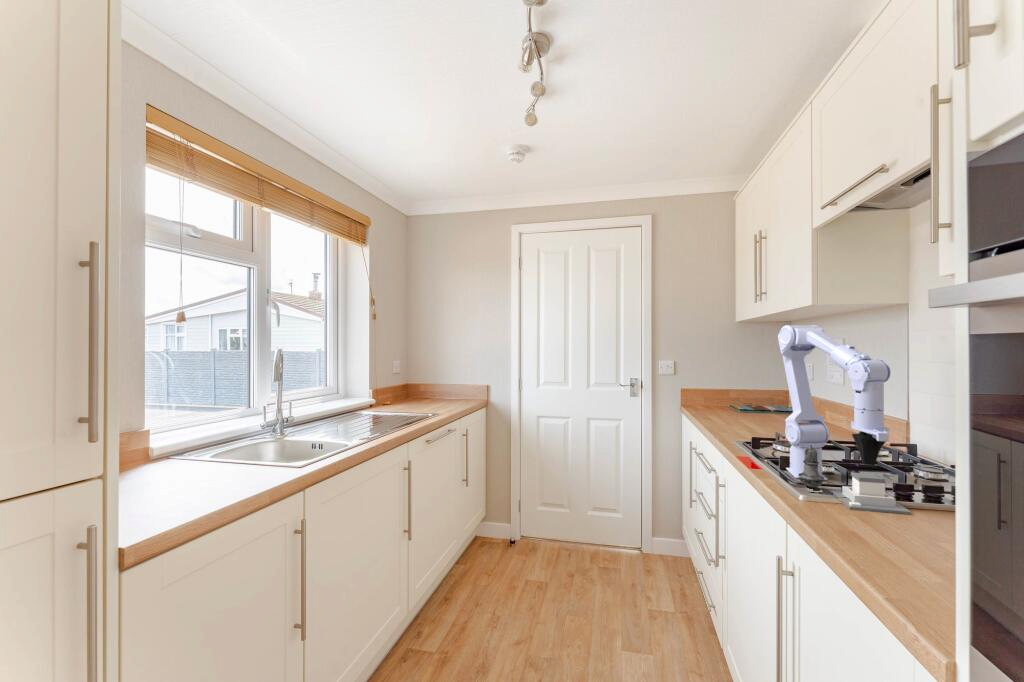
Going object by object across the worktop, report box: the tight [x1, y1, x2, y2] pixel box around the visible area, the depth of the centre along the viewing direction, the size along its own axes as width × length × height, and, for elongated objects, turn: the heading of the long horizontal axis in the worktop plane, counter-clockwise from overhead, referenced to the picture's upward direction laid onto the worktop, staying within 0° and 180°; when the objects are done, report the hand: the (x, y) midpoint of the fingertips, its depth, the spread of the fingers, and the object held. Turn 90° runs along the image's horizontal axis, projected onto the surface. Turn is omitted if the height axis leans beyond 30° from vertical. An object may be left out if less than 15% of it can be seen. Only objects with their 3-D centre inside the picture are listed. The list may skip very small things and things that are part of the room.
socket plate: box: [829, 485, 912, 516], centre depth 111 cm, size 12×12×3 cm
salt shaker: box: [798, 445, 825, 491], centre depth 120 cm, size 6×6×12 cm
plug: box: [851, 472, 886, 497], centre depth 111 cm, size 4×5×6 cm
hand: (868, 464), depth 111 cm, fingers closed
